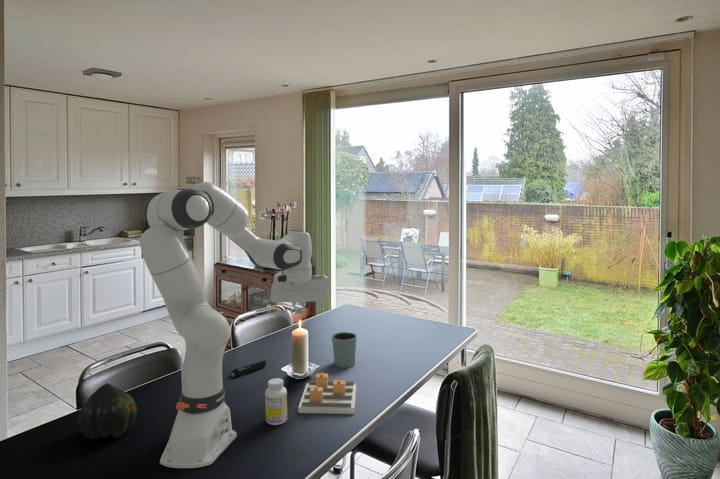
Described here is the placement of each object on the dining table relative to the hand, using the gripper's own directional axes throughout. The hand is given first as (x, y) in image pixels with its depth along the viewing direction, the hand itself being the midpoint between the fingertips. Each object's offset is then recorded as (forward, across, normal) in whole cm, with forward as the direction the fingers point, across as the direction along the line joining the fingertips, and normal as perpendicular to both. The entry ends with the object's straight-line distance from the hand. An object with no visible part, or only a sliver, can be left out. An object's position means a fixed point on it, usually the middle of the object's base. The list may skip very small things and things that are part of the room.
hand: (299, 313), depth 162 cm
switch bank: (+28, -10, +12) cm, 32 cm away
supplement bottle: (+28, +7, +23) cm, 37 cm away
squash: (+29, +56, +23) cm, 67 cm away
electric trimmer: (+28, +20, -18) cm, 39 cm away
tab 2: (+25, -5, +16) cm, 31 cm away
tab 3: (+25, -13, +12) cm, 31 cm away
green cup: (+28, -19, -20) cm, 39 cm away
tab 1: (+25, -8, +6) cm, 27 cm away
